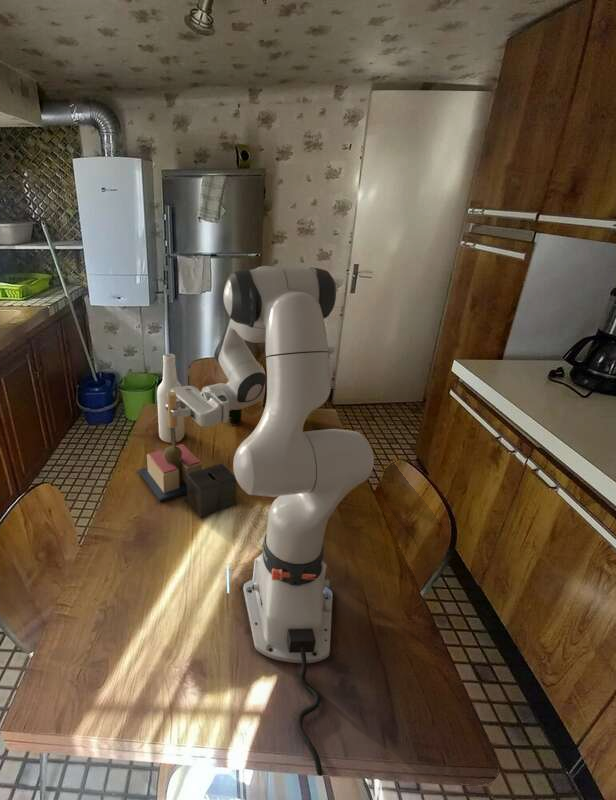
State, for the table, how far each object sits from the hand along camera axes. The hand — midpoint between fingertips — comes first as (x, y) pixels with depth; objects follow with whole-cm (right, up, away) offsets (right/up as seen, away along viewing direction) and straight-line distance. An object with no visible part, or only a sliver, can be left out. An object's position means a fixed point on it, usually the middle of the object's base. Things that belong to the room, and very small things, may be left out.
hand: (169, 410), depth 119 cm
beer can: (+20, -6, +42) cm, 47 cm away
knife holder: (+11, -25, 0) cm, 28 cm away
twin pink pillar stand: (0, -21, +10) cm, 23 cm away
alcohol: (-2, -10, +32) cm, 34 cm away
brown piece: (0, -21, +9) cm, 23 cm away
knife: (+1, -14, +7) cm, 16 cm away
